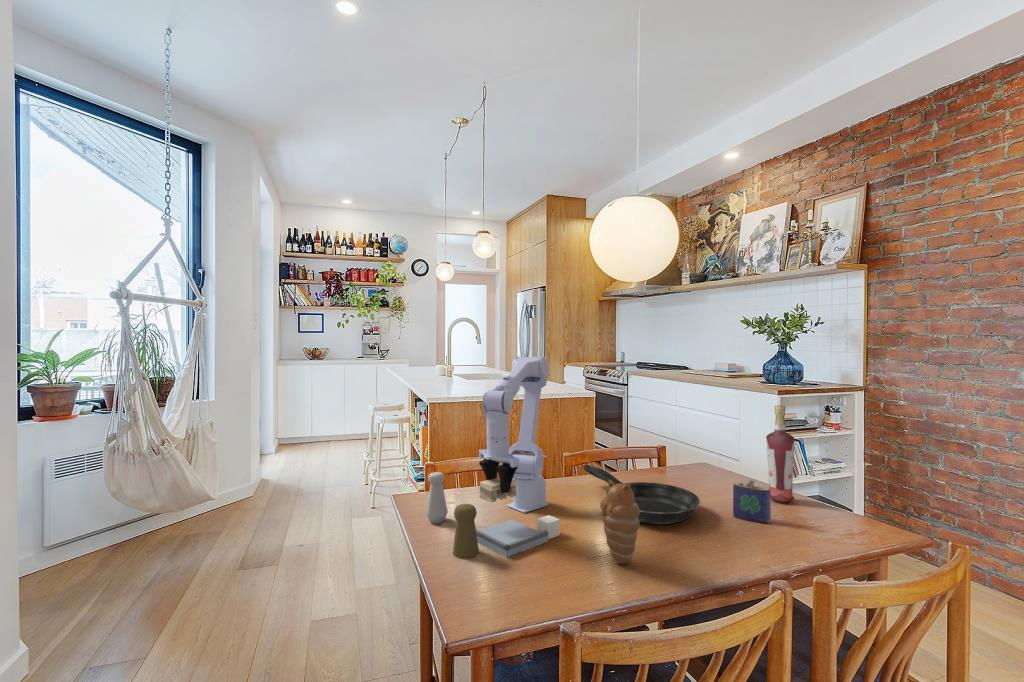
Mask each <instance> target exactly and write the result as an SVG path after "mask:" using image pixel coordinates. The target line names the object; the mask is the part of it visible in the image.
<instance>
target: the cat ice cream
mask: <svg viewBox="0 0 1024 682" xmlns="http://www.w3.org/2000/svg"><path fill="white" fill-rule="evenodd" d="M608 489H609V491H608V493H607V495H606V494H605V496H604V497H602V499H601V500H600V505H599V507H600V510H601V514H600V515H601V517H600V518H601V521H602V522H603V532H604V535H605V536H606V537H605V539H606V544H607V546H608V548H609V551H610V555H611V557H612V559H613V560H614V561H615V562H616V563H617V564H619V565H627V564H629V563H630V562H632V559H633V556H634V555H633V554H634V551H635V549H636V541H637V538H638V531H639V529H640V525H641V522H639V519H638V516H639V514H640V509H639V507H638V505H637V503H636V502H635V498H634V493H633V491H632V490H631V484H627V485H625V483H623V484H615V483H614V482H613V481H611V480H609V484H608Z"/></svg>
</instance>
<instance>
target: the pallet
mask: <svg viewBox="0 0 1024 682" xmlns="http://www.w3.org/2000/svg"><path fill="white" fill-rule="evenodd" d="M514 496H516V480H513V479H512V482H511V486H510V491H509V492H507V493H501V488H500V478H499V477H497V478H495V479H490V480H486V479H485V480H482V481H479V498H480V499H481V500H482V499H483V500H484V501H487V502H489V503H495V502H497V501H498V500H497V499H499V500H502V501H503V500H506V499H507V497H510V498H513V497H514Z"/></svg>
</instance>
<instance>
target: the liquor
mask: <svg viewBox="0 0 1024 682" xmlns="http://www.w3.org/2000/svg"><path fill="white" fill-rule="evenodd" d="M774 414H775V422H774V423H775V424H774V431H773V432H770V433H769V434H767V435H766V436H765V439H766V455H767V467H768V468H767V470H768V487H769V489H770V491H771V494H770V500H772V501H773V502H775V503H778V504H788V503H791V502H792V501H793V500H794V499H795V496H794V495H793V481H794V479H793V477H794V476H793V475H794V462H795V461H794V457H795V437H794V436H793V435H792V434H790V433H788V432H787V431H786V429H787V428H786V420H785V416H786V415H785V414H786V405H774Z"/></svg>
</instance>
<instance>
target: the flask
mask: <svg viewBox="0 0 1024 682" xmlns="http://www.w3.org/2000/svg"><path fill="white" fill-rule="evenodd" d="M732 488H733V492H732V493H733V498H732V499H733V500H732V501H733V502H732V505H733V506H732V511H733V512H732V514H733V517H734V518H735V519H739V520H742V521H747V522H751V523H758V524H763V525H764V524H766V525H769V524H771V523H772V522H771V521H772V520H771V511H772V510H771V509H772V508H771V498H770V494H771V491H770V489H769V488H768V487H763V486H762V487H761V486H756V485H755V479H754V480H753V479H747V483H745V482H742V481H740V482H735V483H733V487H732Z"/></svg>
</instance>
